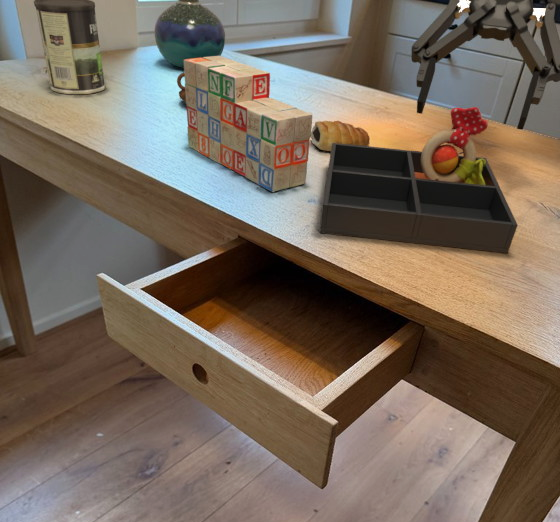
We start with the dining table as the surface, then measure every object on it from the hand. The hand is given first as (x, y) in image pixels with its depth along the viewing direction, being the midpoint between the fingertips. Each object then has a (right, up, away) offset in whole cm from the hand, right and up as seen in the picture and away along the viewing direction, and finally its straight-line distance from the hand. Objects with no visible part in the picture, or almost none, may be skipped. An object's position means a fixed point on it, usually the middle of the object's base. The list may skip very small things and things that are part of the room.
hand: (469, 115), depth 76 cm
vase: (-46, +35, +52) cm, 78 cm away
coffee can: (-65, +20, +33) cm, 76 cm away
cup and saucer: (-38, +15, +29) cm, 51 cm away
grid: (-9, -12, -1) cm, 15 cm away
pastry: (-16, +2, +16) cm, 23 cm away
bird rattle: (-2, -9, +2) cm, 10 cm away
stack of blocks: (-31, -4, +7) cm, 32 cm away
